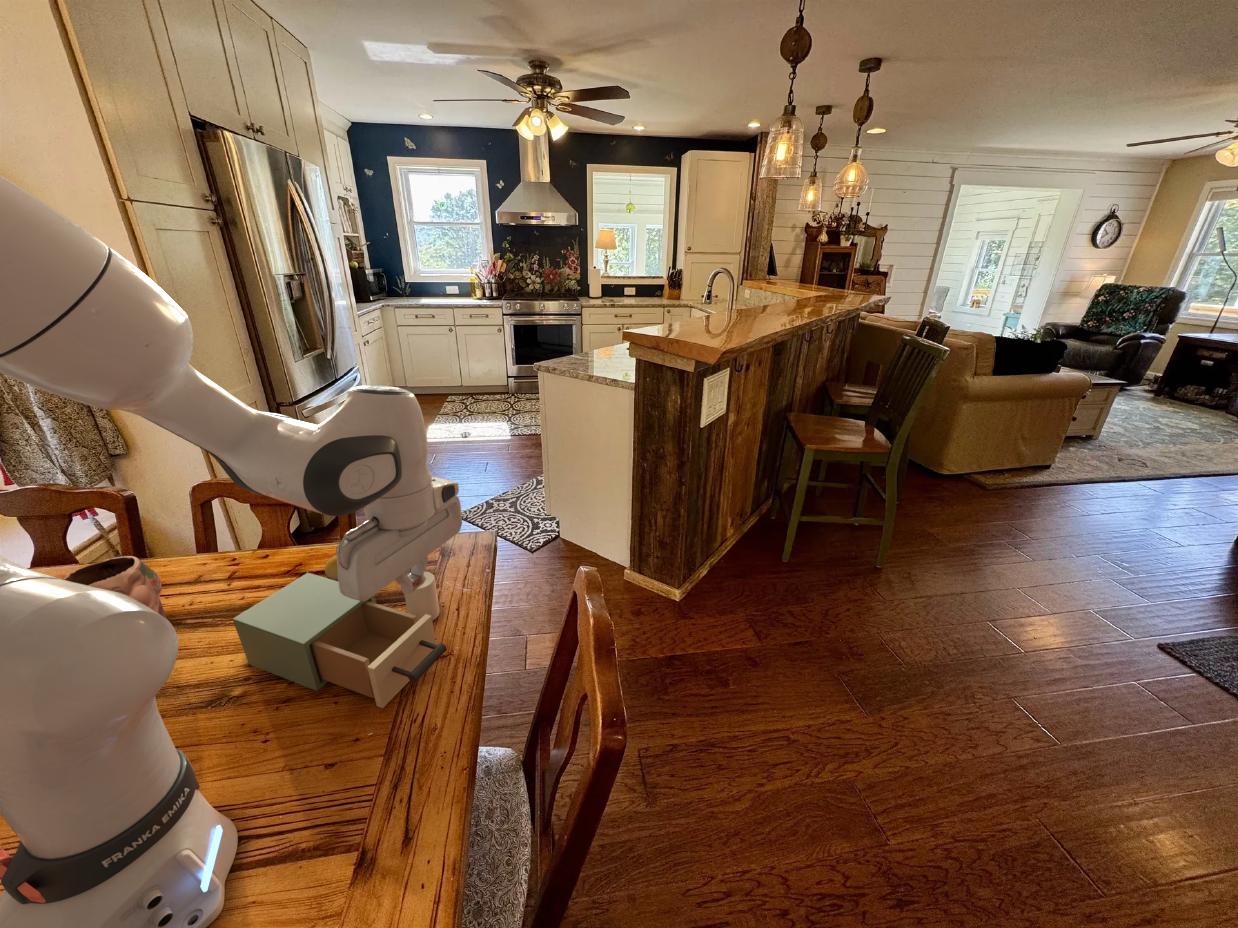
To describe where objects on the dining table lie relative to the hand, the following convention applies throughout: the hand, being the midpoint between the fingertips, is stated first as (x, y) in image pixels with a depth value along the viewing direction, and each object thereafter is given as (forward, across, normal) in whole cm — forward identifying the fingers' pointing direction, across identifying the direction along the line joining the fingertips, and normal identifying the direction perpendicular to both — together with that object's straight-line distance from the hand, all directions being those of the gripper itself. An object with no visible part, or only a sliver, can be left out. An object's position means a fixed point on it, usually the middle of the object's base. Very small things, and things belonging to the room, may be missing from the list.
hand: (413, 587), depth 72 cm
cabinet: (+20, 0, +24) cm, 31 cm away
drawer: (+18, 0, +8) cm, 20 cm away
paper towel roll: (+19, +14, +13) cm, 27 cm away
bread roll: (+20, +20, +38) cm, 47 cm away
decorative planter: (+20, -9, +59) cm, 63 cm away
